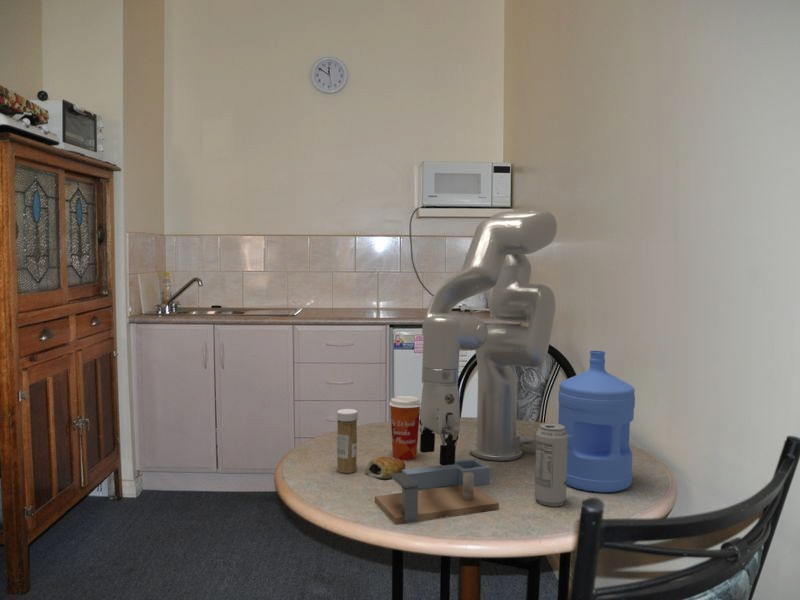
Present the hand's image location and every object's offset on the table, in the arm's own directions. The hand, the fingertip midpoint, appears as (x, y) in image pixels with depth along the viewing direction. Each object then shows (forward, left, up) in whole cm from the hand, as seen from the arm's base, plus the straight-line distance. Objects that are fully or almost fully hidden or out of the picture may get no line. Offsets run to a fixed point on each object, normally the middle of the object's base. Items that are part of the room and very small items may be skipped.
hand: (436, 458), depth 132 cm
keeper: (+12, +11, -6) cm, 18 cm away
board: (+5, +10, -6) cm, 12 cm away
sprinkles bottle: (+15, -16, -6) cm, 22 cm away
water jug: (-33, +8, -6) cm, 35 cm away
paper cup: (-1, -21, -6) cm, 21 cm away
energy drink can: (-17, +15, -6) cm, 24 cm away
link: (-2, -1, -6) cm, 6 cm away
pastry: (+7, -11, -6) cm, 15 cm away
